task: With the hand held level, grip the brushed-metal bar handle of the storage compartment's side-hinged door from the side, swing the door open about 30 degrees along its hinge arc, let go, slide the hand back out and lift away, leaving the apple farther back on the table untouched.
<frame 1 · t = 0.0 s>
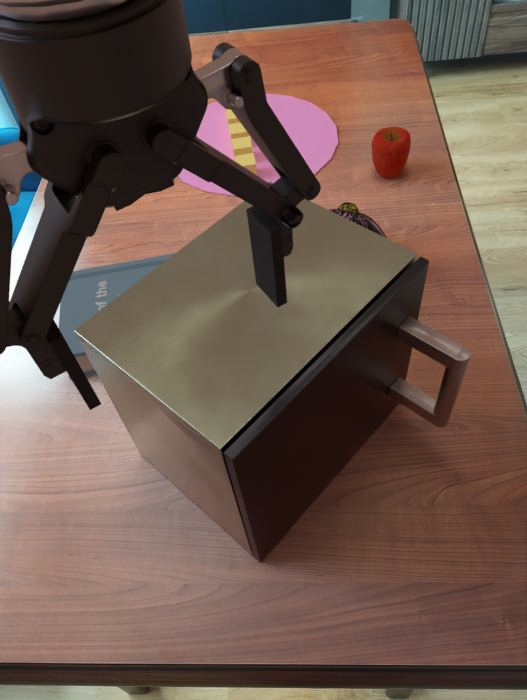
hand: (184, 340, 38), 32 cm above the table, tool pointing down, fingers open, 13 cm apart
book: (152, 319, 82), on the table
storage compartment: (269, 425, 70), on the table
apple: (388, 173, 98), on the table
platter: (250, 141, 107), on the table
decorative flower: (340, 268, 85), on the table
compartment door: (364, 440, 55), point 12 cm above the table, hinge at 0.0°
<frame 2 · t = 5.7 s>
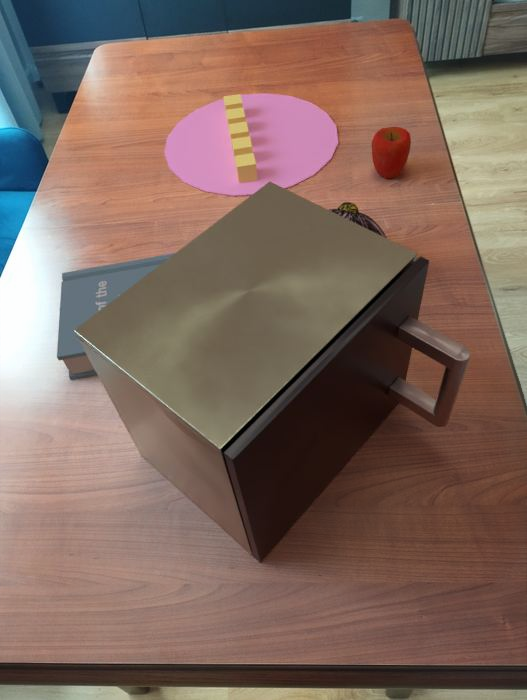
nothing on the table moved.
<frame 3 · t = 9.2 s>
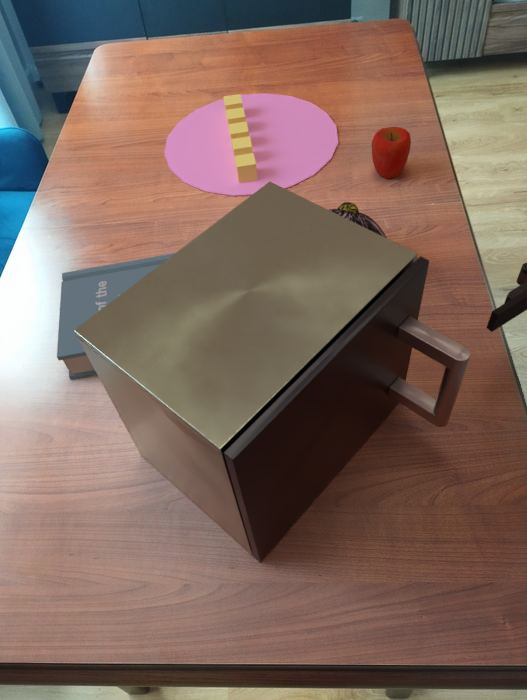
nothing on the table moved.
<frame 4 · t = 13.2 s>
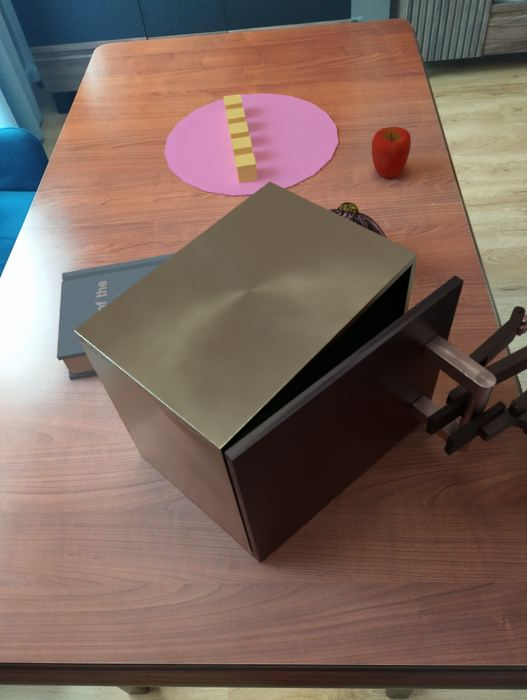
hand: (439, 436, 54), 12 cm above the table, tool horizontal, fingers closed on compartment door, 2 cm apart
compartment door: (376, 455, 54), point 12 cm above the table, hinge at 8.2°, touching gripper
everything else where it was.
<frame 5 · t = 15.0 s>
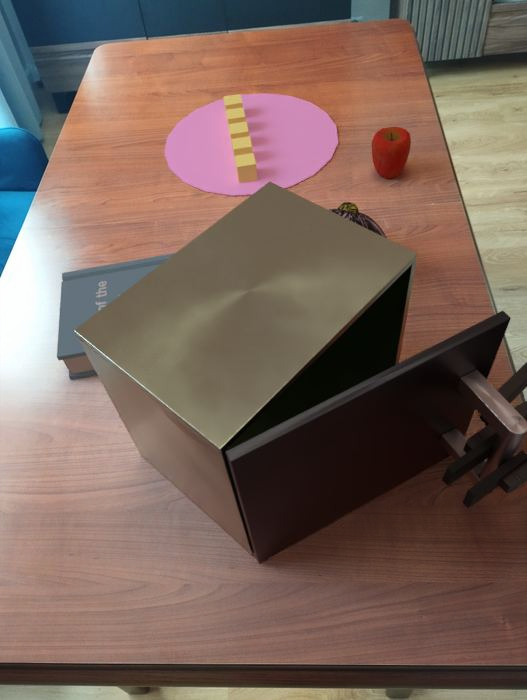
hand: (457, 487, 51), 12 cm above the table, tool horizontal, fingers closed on compartment door, 2 cm apart
compartment door: (389, 481, 52), point 12 cm above the table, hinge at 20.0°, touching gripper
everything else where it was.
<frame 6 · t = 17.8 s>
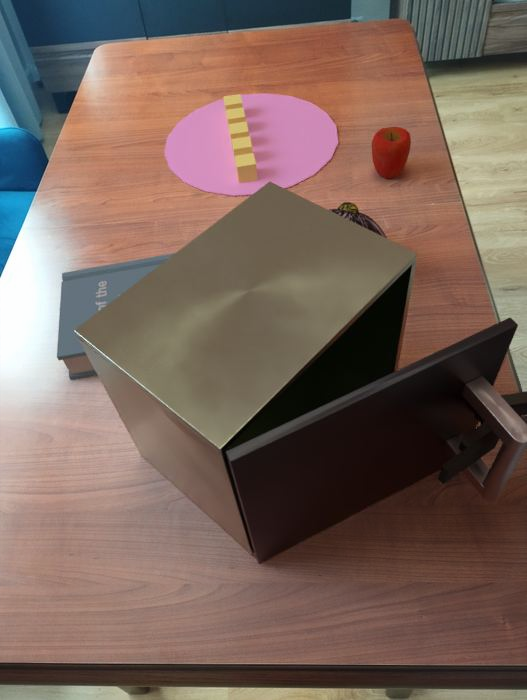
hand: (499, 536, 48), 12 cm above the table, tool horizontal, fingers open, 13 cm apart
compartment door: (391, 485, 52), point 12 cm above the table, hinge at 22.0°, touching gripper, hand
everything else where it was.
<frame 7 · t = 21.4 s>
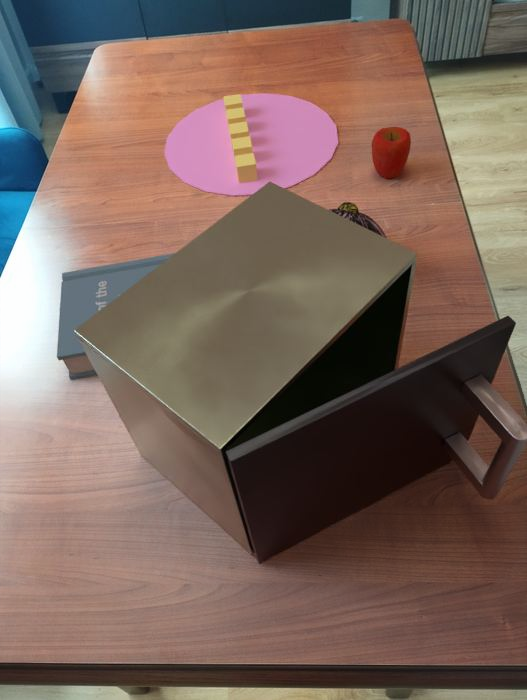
compartment door: (390, 484, 52), point 12 cm above the table, hinge at 21.4°
everything else where it was.
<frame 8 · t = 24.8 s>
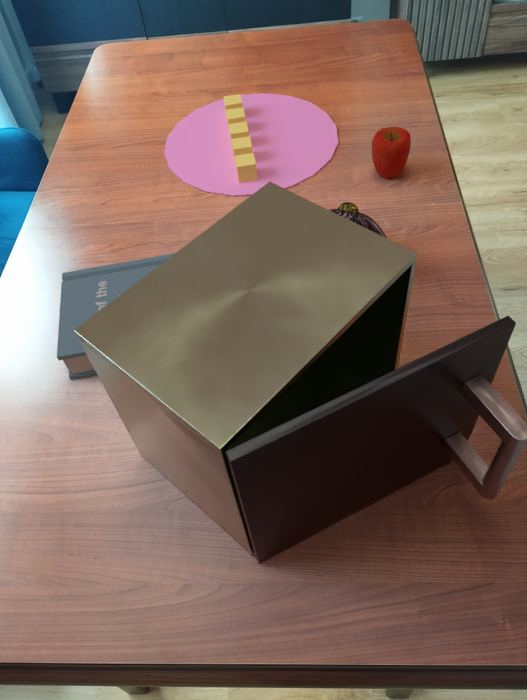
nothing on the table moved.
at the end: compartment door at +21° (first picture: +0°); the gripper is holding nothing; apple moved 0.2 cm from its start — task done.
